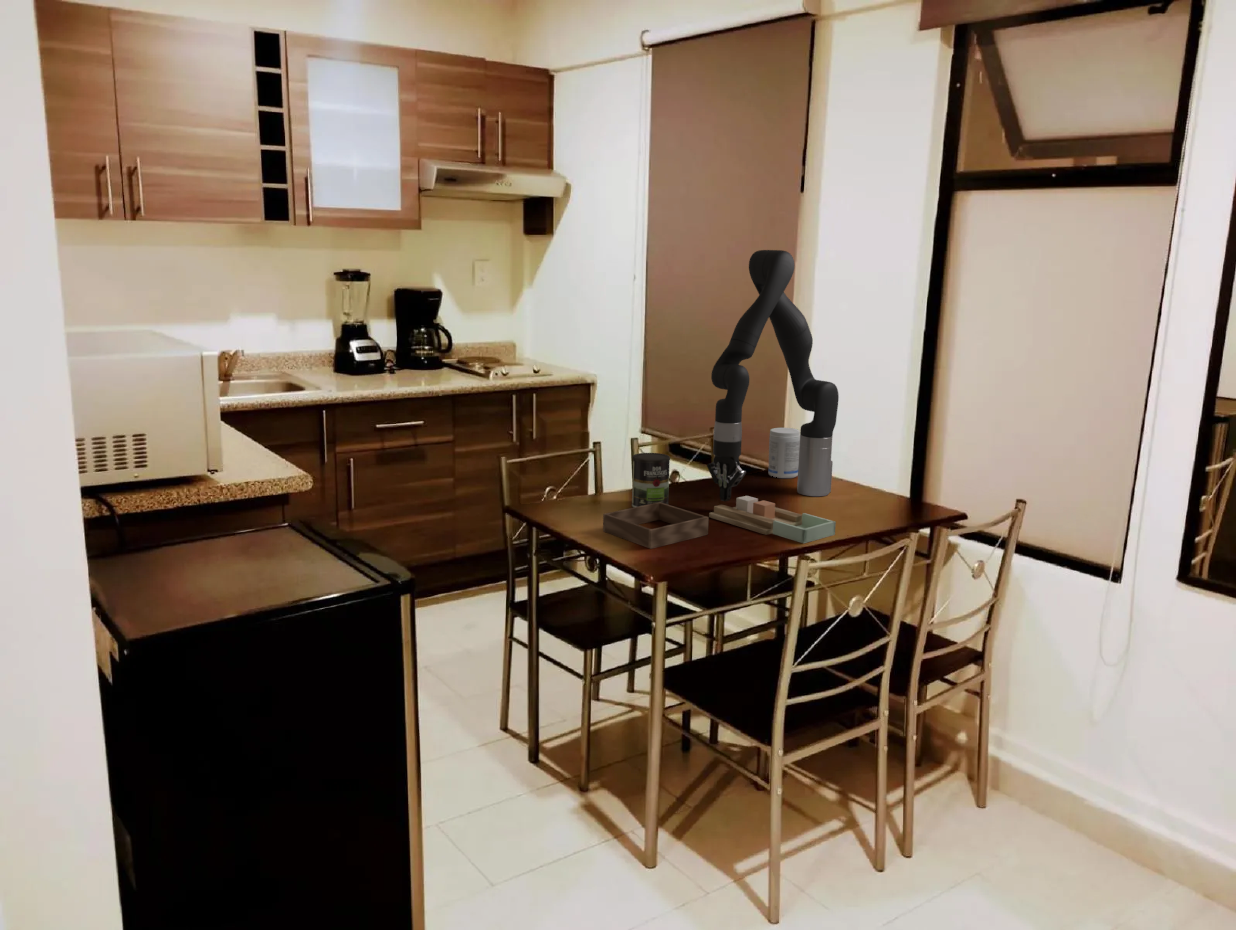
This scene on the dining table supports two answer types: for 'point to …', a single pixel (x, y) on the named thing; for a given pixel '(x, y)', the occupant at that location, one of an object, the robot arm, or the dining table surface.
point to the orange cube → (764, 509)
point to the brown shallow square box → (680, 530)
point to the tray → (805, 529)
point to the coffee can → (650, 479)
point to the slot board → (749, 525)
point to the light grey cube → (745, 503)
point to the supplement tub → (784, 452)
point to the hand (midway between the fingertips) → (724, 500)
